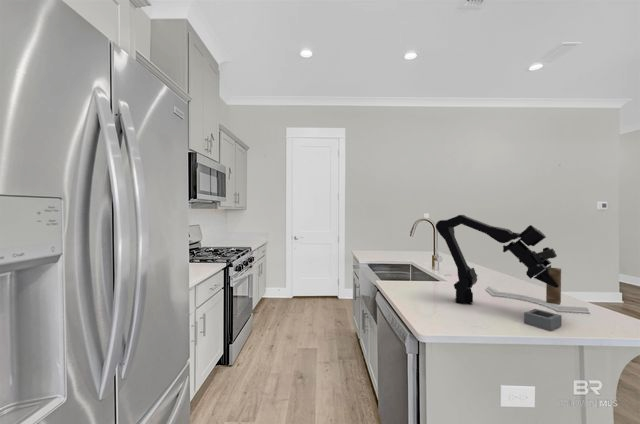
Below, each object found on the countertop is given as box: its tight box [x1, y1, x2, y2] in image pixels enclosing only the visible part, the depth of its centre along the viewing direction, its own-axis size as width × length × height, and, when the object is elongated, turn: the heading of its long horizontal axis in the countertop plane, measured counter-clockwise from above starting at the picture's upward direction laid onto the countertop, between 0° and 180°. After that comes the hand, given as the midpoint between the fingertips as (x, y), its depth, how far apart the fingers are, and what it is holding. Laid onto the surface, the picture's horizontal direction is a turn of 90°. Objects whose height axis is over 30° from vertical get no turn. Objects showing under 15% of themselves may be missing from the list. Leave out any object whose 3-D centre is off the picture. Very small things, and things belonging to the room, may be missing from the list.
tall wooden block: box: [545, 266, 562, 305], centre depth 113 cm, size 4×4×13 cm
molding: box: [484, 286, 591, 315], centre depth 137 cm, size 42×12×3 cm, turn 32°
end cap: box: [523, 308, 563, 332], centre depth 108 cm, size 8×8×4 cm
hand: (558, 286), depth 112 cm, fingers closed on tall wooden block, 4 cm apart
